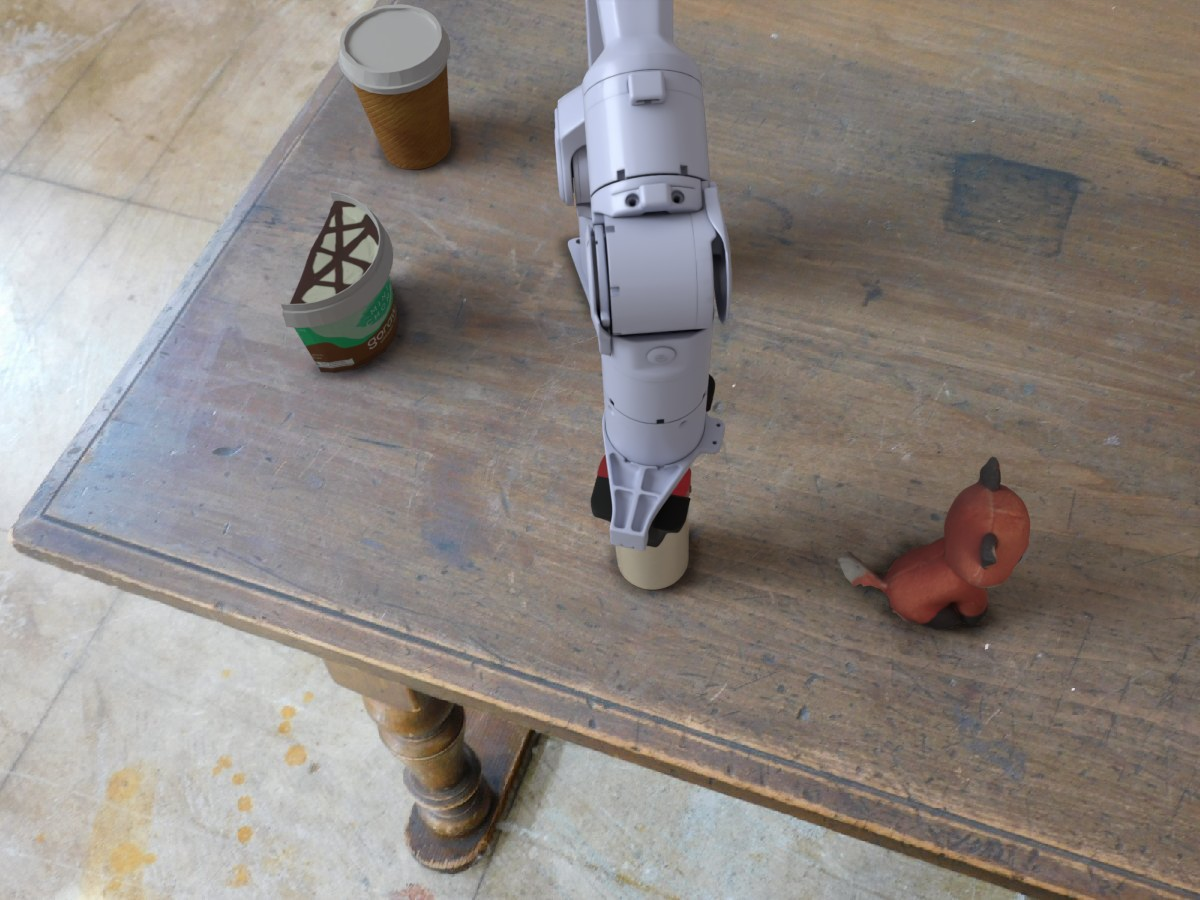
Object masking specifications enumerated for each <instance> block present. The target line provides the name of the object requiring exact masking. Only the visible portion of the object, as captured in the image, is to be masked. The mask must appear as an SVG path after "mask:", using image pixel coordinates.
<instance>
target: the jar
mask: <svg viewBox="0 0 1200 900" xmlns="http://www.w3.org/2000/svg"><path fill="white" fill-rule="evenodd" d="M689 547H690V508H689V509H688V513H687V518H686V521H685V524H684V526H683V527H682V529H681V530H680V532H679V533H667V534H666V536H665V538H664V540H663V541H662V543H661V544H660V545H659V546H658V547H656V548H655V547H650V546H646V550H645V551H641V550H636V549H630V548H625V547H622V546H616V545H614V549H615V555H616V562H617V563H616V564H617V567H618V569H619V572H620V574H621V575H622V576H623V578H625V579H626V581H627V582H629V583H630V584H632V585H634V586H635V587H637V588H640V589H644V590H654V591H655V590H662V589H665V588H667V587H670V586H673V585H674V584H675V583H676V582H678V581H679V580H680V579H681V578H682V577H683V576H684V574H685V573H686V570H687V568H688V565H689V557H690V548H689Z"/></svg>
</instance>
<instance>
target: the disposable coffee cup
mask: <svg viewBox="0 0 1200 900" xmlns="http://www.w3.org/2000/svg"><path fill="white" fill-rule="evenodd" d="M450 53H451V41H450V37H449V34H448V33H447V31H446V30H445V28H444V27H443V26H442V25H441V24H440V22H439V21H438V19H437V18H436V17H435V16H434V15H433V14H432V13H431V12H430V11H428V10H426V9H424V8H421V7H418V6H414V5H411V4H401V3H396V4H395V3H394V4H384V5H380V6H377V7H373V8H371V9H369V10H366V11H364V12H362V13H359V15H357V16H356V17H354V18H353V19H352V20H350V21H349V23H348V24H347V25H346V26H345V28H344V29H343V31H342V32H341V35H340V39H339V46H338V49H337V63H338V66H339V69H340V70H341V73H342V74H343V75H344V76H345V77H346V78H347V79H348V80H349V81H350V82H351V84H352V87H353V89H354V90H355V92H356V95H357V97H358V101H359V102H360V103H361V107H362V108H363V111H364V112H365V115H366V117H367V118H368V121H369V123H370V126H371V128H372V130H373V132H374V134H375V137H376V138H377V141H378V143H379V146H380V147H381V149H382V152H383V153H384V156H385V158H386V160H387V161H388V162H390V164H392V165H394V166H396V167H398V168H400V169H404V170H423V169H426V168H429V167H432V166H434V165H436V164H438V163H440V161H442V160H443V159H444V158H445V157H446V156H447V155H448V153H449V151H450V149H451V144H452V138H451V120H450V101H449V100H450V99H449V77H448V61H449V60H448V59H449V56H450Z"/></svg>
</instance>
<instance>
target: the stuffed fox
mask: <svg viewBox="0 0 1200 900" xmlns="http://www.w3.org/2000/svg"><path fill="white" fill-rule="evenodd" d="M1001 483H1002V472H1001V466H1000V462H999V459H998V458H997V457H996V456H991V457H990V458H988V460H987V461H986V463H985V464H984V465H983V466H981V467H980V470H979V478H978V480H977V481H976V482H975V483H973V484H970V485H969V486H967V487H965V488H964V489H962V490H961V491H960V492H959V493H958V494H957V496H956V497H955V498H954V500H953V501H952V503H951V504H950V507H949V509H948V511H947V513H946V516H945V519H944V520H945V521H944V524H943V537H940V538H938V539H936V540H934V541H932V542H931V543H927V544H924V545H920V546H917V547H914V548H910V549H908V550H907V551H906V552H904V553H902V554H900V555H899V556H898V557H897V558H895V560H894V561H893V563H891V565H890V566H889V569H888V570H887V571H886V572H885V573H883V574H882V573H880V574H879V575H877V574H876V573H875V572H874V571H873V570H872V569H871V568H870V567H868V566H867V565H866V564H865V563H864V562H863V561H862V560H861V559H860V558H858V557H857V556H855V554H854V553H853V552H852V551H851V550H849V551H846V552H845V553H842V554H841V555H839V556H838V557H837V561H838V565H839V566H840V568H841V571H842V573H843V575H844V577H845V578H846V580H848V581H849V582H850V583H851V585H853V586H854V587H857V586H858V585H861V586H862V587H863V588H864V587H867V586H872V587H874V588H876V589H879V590H881V591H882V593H884V594H885V595H887V597H888V601H889V607H890V608H891V609H892V612H893V613H894V614H897V616H899V618H901V621H903V622H906V623H909V624H916V625H918V626H921V627H924V628H930V629H933V630H937V631H938V630H940V631H945V630H950V629H952V628H953V627H955V626H956V625H958V624H960V623H961V624H962V625H963V624H964V625H965V626H969V627H974V626H977V625H978V624H980V623H981V621H982V620H984V619H985V617H987V613H988V607H989V600H988V590H987V589H992V588H996V587H1000V586H1002V585H1003V584H1005V582H1006V581H1008V580H1009V578H1010V577H1011V575H1012V573H1013V571H1014V570H1015V568H1017V567H1019V566H1020V565H1022V564H1024V562H1025V561H1026V560H1027V559H1028V556H1029V554H1030V535H1031V534H1030V533H1031V517H1030V513H1029V510H1028V507H1027V505H1026V503H1025V502H1024V500H1023V499H1022V498H1021V496H1019V495H1018V494H1017V493H1016V492H1015V491H1014V490H1012V489H1011V488H1009V487H1008V486H1006V485H1004V484H1001Z"/></svg>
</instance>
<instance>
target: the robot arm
mask: <svg viewBox="0 0 1200 900" xmlns="http://www.w3.org/2000/svg"><path fill="white" fill-rule="evenodd" d="M584 7H585V10H584V11H585V25H586V26H585V27H586V28H585V29H586V40H587V41H586V42H587V45H586V46H587V61H588V63H587V64H588V70H587V71H586V73H585V75H584V77H583V79H582V83H581V84H580V85H578V86H576V87H575V88H573V89H572V90H570V91H569V92H567V93H565V95H563V96H561V97H560V98H559V99H558V100H557V107H556V108H555V109H554V125H555V128H554V145H555V160H556V161H555V162H556V172H557V185H558V193H559V195H558V196H559V199H560V200H561V201H562V202H563V203H565V205H566V207H574V206H575V207H576V208H575V210H576V216H577V219H578V232H579V233H578V234H579V237H574V238H571V239H569V240H568V242H567V247H568V251H569V253H570V255H571V258H572V259H571V260H572V262H573V264H574V267H575V269H576V272H577V275H578V277H579V281H580V284H581V286H582V289H583V291H584V294H585V297H586V300H587V302H588V305H589V308H590V317H591V320H592V323H593V326H594V329H595V333H596V335H597V342H598V349H599V351H598V352H599V354H600V357H601V373H602V389H603V391H602V392H603V404H604V405H603V406H604V411H603V414H602V419H601V427H602V439H603V446H604V455H605V454H606V462H607V469H608V476H609V478H606V477H601V476H597V475H596V478H595V482H594V486H593V488H592V492H591V495H590V509H591V513H592V515H593V517H594V518H597V519H601V520H604V521H607V522H608V523H610V525H609V536H610V538H609V539H610V540H609V541H610V545H611V546H615V545H616V546H622V547H625V548H630V549H636V550H641V551H645V550H646V546H650V547H655V548H656V547H658V546H659V545H660V544H661V543H662V541H663V540H664V538H665V536H666V534H667V533H679V532H680V530H681V529H682V527H683V526H684V524H685V521H686V518H687V513H688V509H689V510H690V503H691V500H692V499H691V497H690V496H689V497H684V496H678V495H673V494H671V493H672V492H673V490H674V489H675V487H676V486H677V485H678V483H679V482H680V480H681V479H682V477H683V476H684V475H685V473H686V472H687V470H688V469H689V468H690V469H691V466H692V465H693V463H694V462H695V461H696V459H697V458H698V457H699V456H701V455H702V454H708V455H717V454H718V453H720V451H721V449H722V447H723V441H724V436H725V432H726V423H725V422H724V421H723V420H722V419H720V418H716V417H712V416H710V415H709V414H708V412H709V411H711V409H712V405H713V400H714V396H715V392H716V379H715V378H714V377H713V376H712V375H711V374H710V368H711V367H710V366H711V354H712V347H713V346H712V345H713V334H714V324H715V323H714V322H715V306H716V311H717V316H718V319H719V321H720V324H721V325H722V326H726V325H727V323H728V321H729V316H730V315H729V314H730V309H731V308H730V307H731V302H732V293H733V291H732V289H733V268H732V267H733V266H732V255H731V254H732V253H731V244H730V238H729V233H728V229H727V224H726V221H725V218H724V213H723V210H722V205H721V200H720V194H719V192H720V191H719V187H718V182H717V181H716V180H715V181H711V169H710V157H709V146H708V135H707V134H708V133H707V124H706V123H707V122H706V112H705V110H706V109H705V100H704V99H705V98H704V89H703V77H702V75H703V74H702V71H701V68H700V66H699V65H698V64H697V62H696V61H695V60H694V59H693V58H692V57H690V56H689V55H688V54H687V53H686V52H685V51H684V50H683V49H681V47H680V46H679V45H677V44H676V42H675V41H674V0H584ZM574 195H575V196H574ZM574 198H575V201H574Z"/></svg>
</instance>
